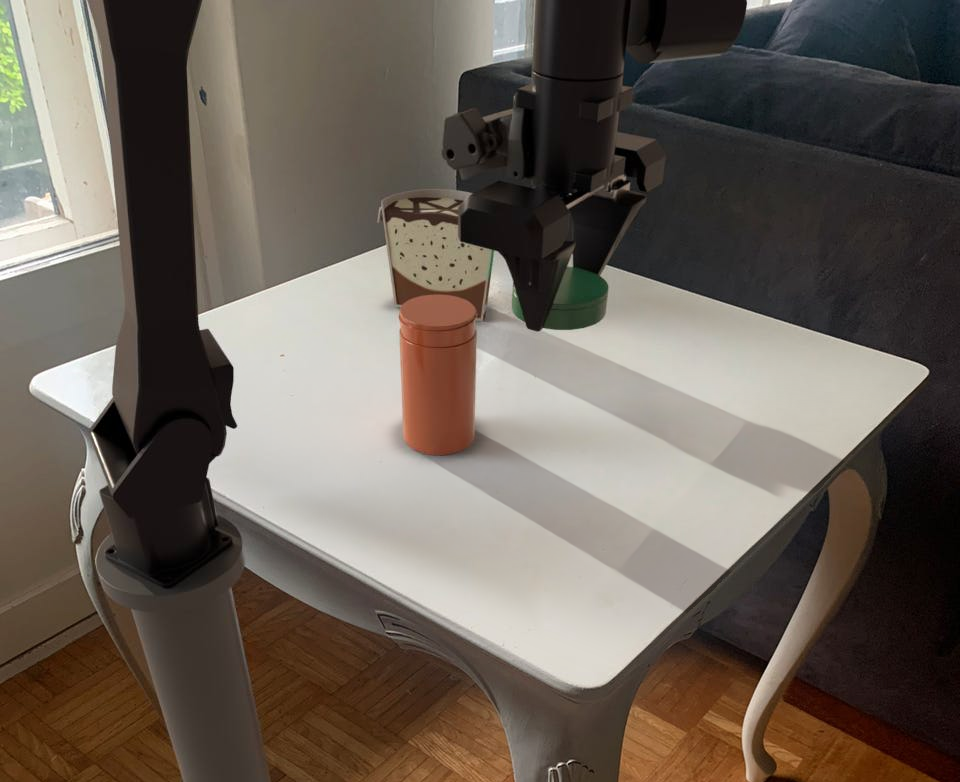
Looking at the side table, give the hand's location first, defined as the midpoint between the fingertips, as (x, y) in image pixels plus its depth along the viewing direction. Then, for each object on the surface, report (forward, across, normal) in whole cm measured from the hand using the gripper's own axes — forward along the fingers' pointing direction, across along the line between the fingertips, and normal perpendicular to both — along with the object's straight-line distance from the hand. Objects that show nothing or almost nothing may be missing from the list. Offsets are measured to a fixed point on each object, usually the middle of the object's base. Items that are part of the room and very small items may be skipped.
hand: (558, 312), depth 70 cm
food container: (+11, -17, -22) cm, 30 cm away
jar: (+11, +5, -8) cm, 14 cm away
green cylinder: (-2, 0, 0) cm, 2 cm away
